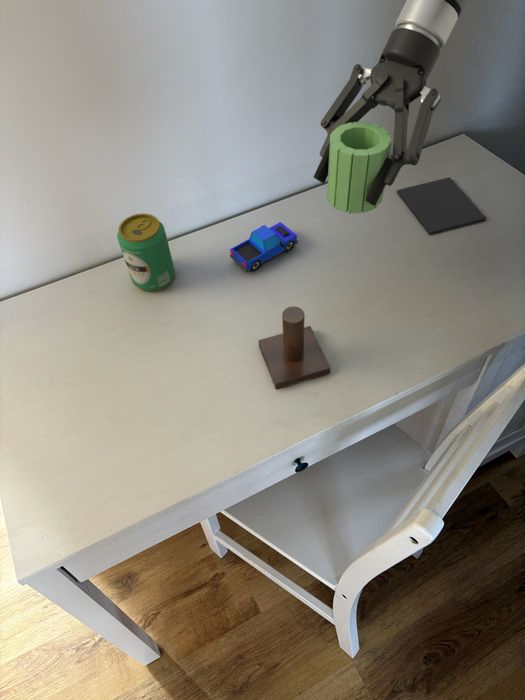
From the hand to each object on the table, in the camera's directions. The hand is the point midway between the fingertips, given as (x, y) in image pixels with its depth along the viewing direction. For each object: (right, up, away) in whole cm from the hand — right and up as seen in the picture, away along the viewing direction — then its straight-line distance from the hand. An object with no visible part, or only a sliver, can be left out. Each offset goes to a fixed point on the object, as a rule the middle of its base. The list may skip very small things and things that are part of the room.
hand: (343, 191), depth 81 cm
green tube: (+2, 0, +4) cm, 4 cm away
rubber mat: (+23, +5, +26) cm, 35 cm away
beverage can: (-32, -11, +18) cm, 38 cm away
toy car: (-12, -6, +20) cm, 24 cm away
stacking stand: (-7, -25, +5) cm, 27 cm away
